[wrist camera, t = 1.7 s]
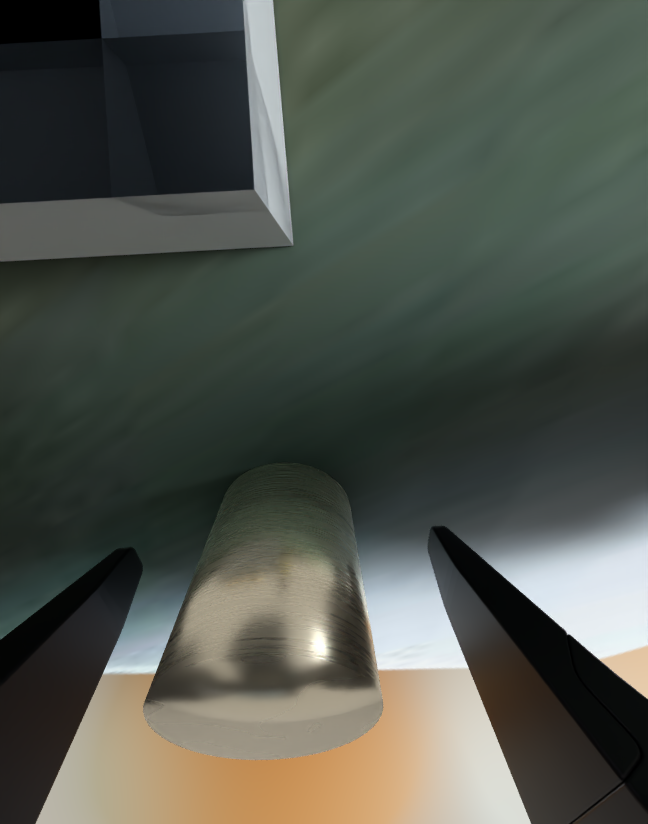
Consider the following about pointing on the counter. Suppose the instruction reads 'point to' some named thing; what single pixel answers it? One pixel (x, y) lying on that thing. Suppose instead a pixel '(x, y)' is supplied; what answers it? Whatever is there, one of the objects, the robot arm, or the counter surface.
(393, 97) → the counter surface
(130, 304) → the counter surface
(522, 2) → the counter surface
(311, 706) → the silver metal can
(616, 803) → the robot arm
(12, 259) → the square frame box
